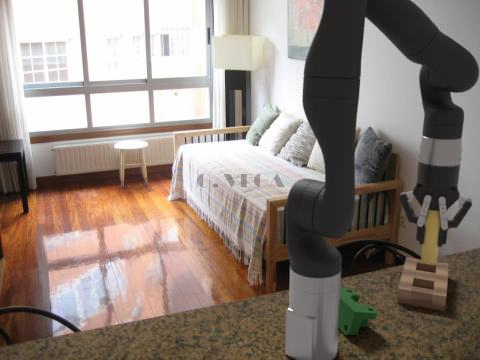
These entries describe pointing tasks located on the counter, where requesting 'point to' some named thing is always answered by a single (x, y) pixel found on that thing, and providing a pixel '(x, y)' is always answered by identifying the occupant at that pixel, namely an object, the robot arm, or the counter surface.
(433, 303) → the hole block
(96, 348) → the counter surface
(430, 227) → the peg
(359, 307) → the clamp
